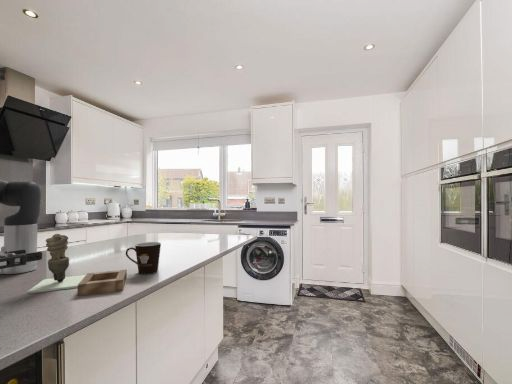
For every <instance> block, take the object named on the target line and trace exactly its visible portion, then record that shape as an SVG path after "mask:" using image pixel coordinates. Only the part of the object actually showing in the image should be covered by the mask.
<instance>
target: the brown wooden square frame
mask: <svg viewBox="0 0 512 384" xmlns="http://www.w3.org/2000/svg"><path fill="white" fill-rule="evenodd" d="M127 272H128V271H127V269H120V270H119V269H118V270H108V271H97V272H90V273H89V272H88V273H86V274H85V275H86V276H85V277H84V278H83V279H82V280H81V282H80V283H79V284H78V288H77V297H80V296H87V295H89V296H90V295H95V294H105V293H113V292H120V291H124V287H125V285H126V282H127V280H128V279H127V277H128V276H127V274H128V273H127Z"/></svg>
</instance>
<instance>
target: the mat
mask: <svg viewBox="0 0 512 384" xmlns="http://www.w3.org/2000/svg"><path fill="white" fill-rule="evenodd" d="M86 275H87V274H85V275H75V276H72V275H71V276H65V279H64V280H63V281H62V282H58V281H57V280H54V277H53V278H44V279H43V280H41V281H40V282H38V283H37V284H36V285H35V286H33V287H31V288H30V289H29V290H27V294H35V293H43V292H51V291H59V290H68V289H69V290H71V289H78V284H79V283H80V282H81V280H82V279H83V278H84V277H85V276H86Z"/></svg>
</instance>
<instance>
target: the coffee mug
mask: <svg viewBox="0 0 512 384" xmlns="http://www.w3.org/2000/svg"><path fill="white" fill-rule="evenodd" d="M161 247H162V243H161V242H158V241H145V242H139V243H136V244H134V247H128V248H127V249H126V251H125V256H126V258H127V259H129V260H130V261H131V262H132V263H134V264H136V265H137V272H138V274H139V275H152V274H156V273H158V271H159V264H160V253H161ZM130 250H133V251H134V252H135V255H136V260H134V259H133V258H131V257H130V255H129V254H128V252H129V251H130Z"/></svg>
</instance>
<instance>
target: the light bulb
mask: <svg viewBox="0 0 512 384" xmlns="http://www.w3.org/2000/svg"><path fill="white" fill-rule="evenodd" d="M68 240H69V237H68V236H67V235H64V234H60V233H55V234H53V235H52V236H51V237H48V238H46V240H45V243H46V244H45V246H46V247H47V249H46V251H47V252H49V254H50V255H49V256H51V258H50V259H48V260H47V266H48V270H49V271H50V272H51V274H53V278H54V280H57V281H58V282H62V281H63V280H64V279H65V277H66V271H67V270H68V268H69V266H70V257H69V256H66V251H67V250H68V249H69V246H68V245H69V241H68Z"/></svg>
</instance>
